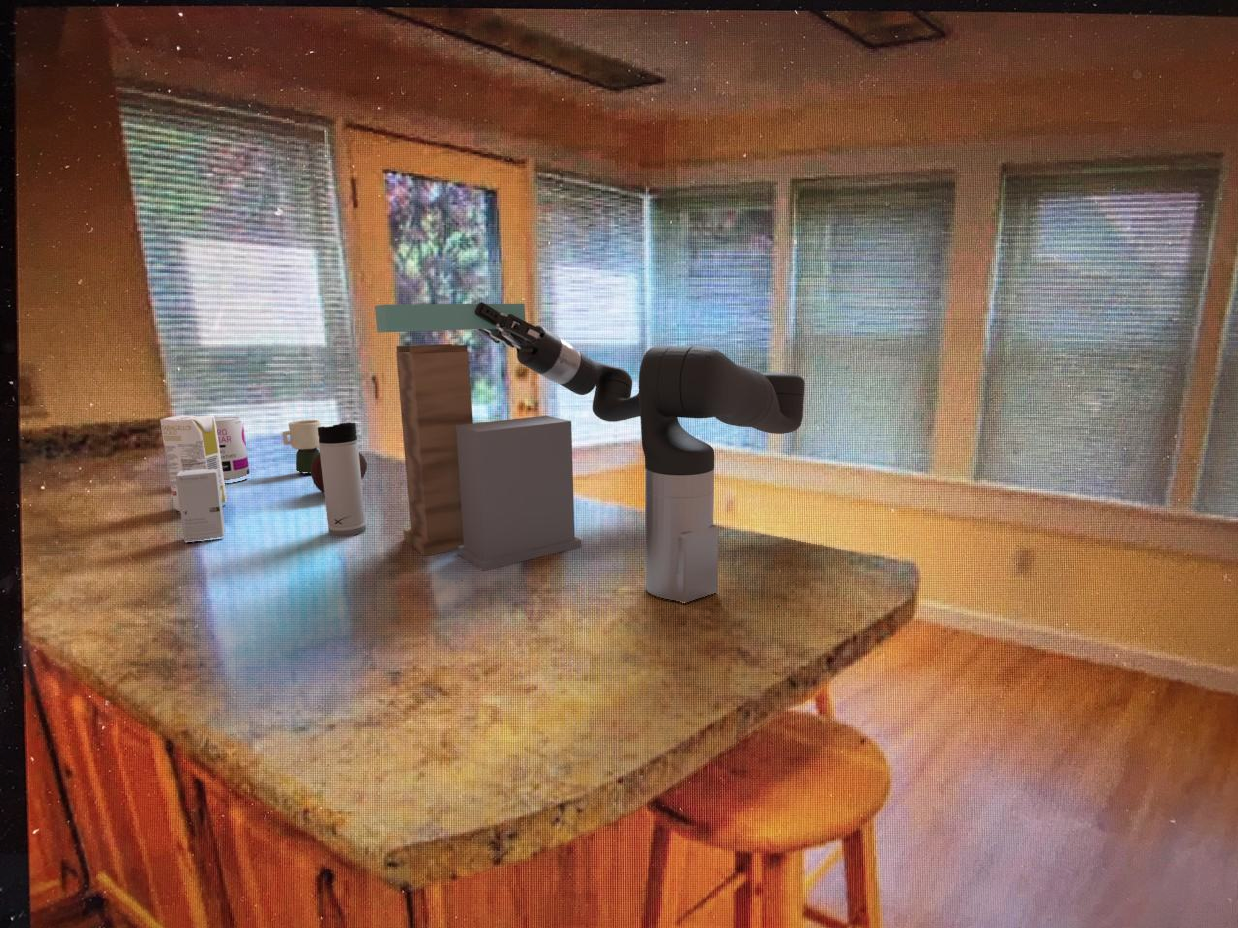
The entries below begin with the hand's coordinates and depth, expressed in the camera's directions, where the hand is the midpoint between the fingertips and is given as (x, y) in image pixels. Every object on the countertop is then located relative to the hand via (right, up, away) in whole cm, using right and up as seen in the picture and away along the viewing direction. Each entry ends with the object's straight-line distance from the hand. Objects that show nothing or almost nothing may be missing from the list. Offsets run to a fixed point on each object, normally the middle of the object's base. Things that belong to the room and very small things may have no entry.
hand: (470, 308), depth 110 cm
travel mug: (-25, -38, +11) cm, 47 cm away
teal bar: (-2, -4, -1) cm, 4 cm away
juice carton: (-61, -35, +28) cm, 76 cm away
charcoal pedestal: (+8, -40, 0) cm, 40 cm away
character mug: (-53, -28, +58) cm, 84 cm away
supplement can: (-69, -30, +52) cm, 92 cm away
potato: (-37, -32, +38) cm, 62 cm away
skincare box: (-49, -39, +9) cm, 63 cm away
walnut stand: (-5, -39, +5) cm, 39 cm away
